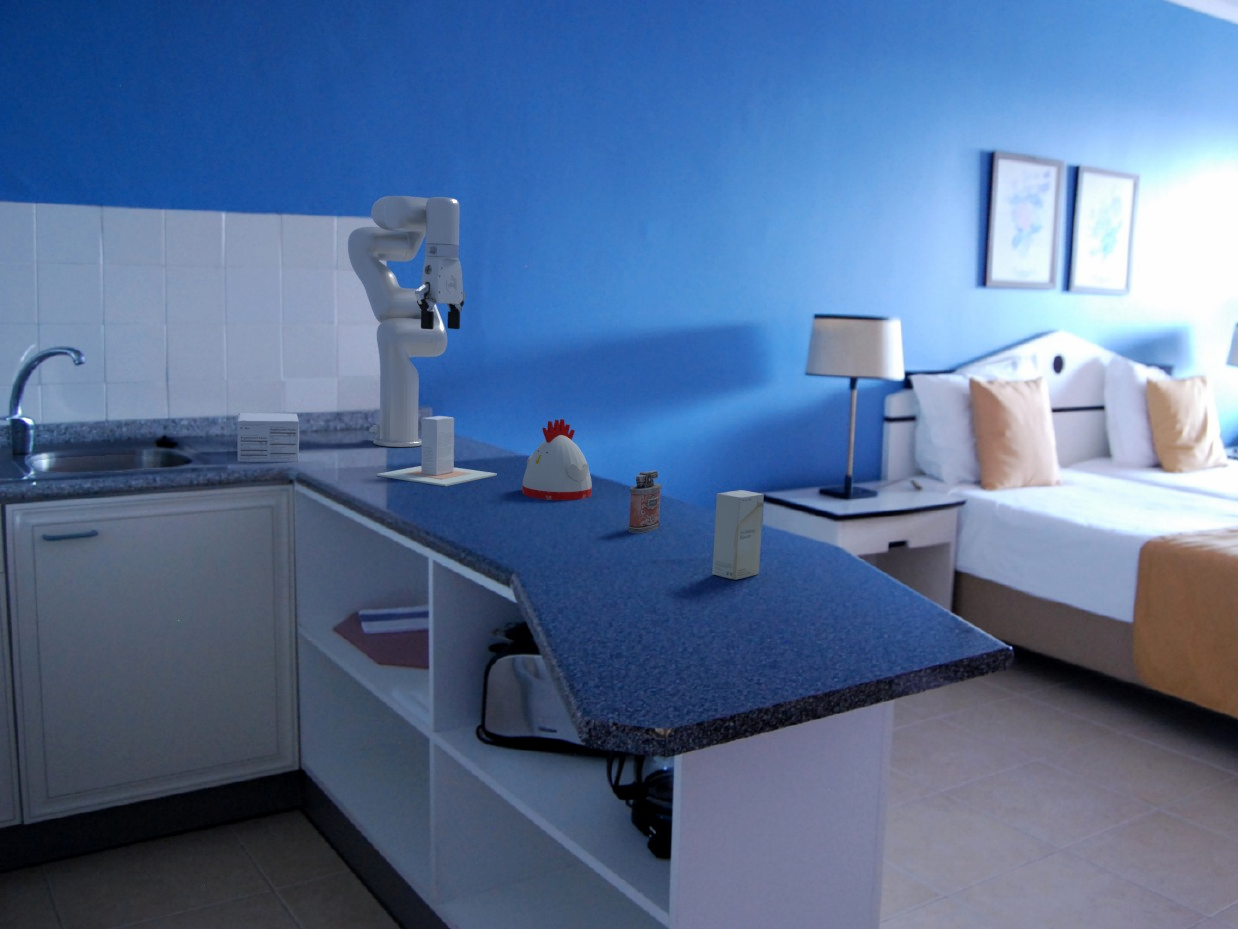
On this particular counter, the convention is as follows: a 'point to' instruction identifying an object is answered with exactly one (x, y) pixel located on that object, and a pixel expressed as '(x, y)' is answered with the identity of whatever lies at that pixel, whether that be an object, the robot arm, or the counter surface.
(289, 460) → the supplement box
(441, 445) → the skincare box
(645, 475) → the lighter
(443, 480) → the square coaster
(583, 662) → the counter surface
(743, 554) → the skincare box
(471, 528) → the counter surface
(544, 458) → the kitchen timer
